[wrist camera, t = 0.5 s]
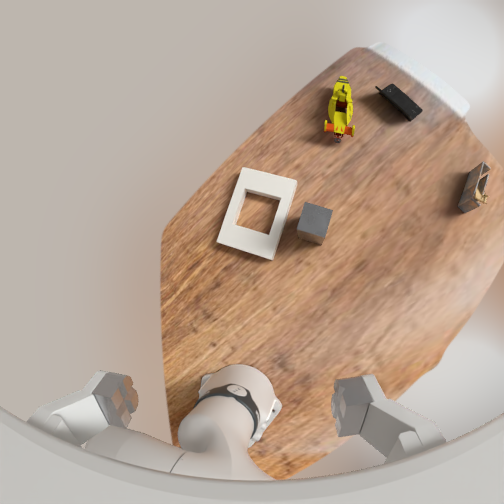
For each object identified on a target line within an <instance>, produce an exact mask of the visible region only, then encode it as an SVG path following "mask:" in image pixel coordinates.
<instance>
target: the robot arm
mask: <svg viewBox="0 0 504 504" xmlns="http://www.w3.org/2000/svg"><path fill="white" fill-rule="evenodd" d="M132 385H133V381H132V379H131V377H130V376H127V375H122V374H117V373H111V372H106V371H101V370H100V371H97V372H96V373H95V375H94V376H93V377H92V378H91V380H90V381H89V382H88V383H87V385H86V386H85V387H84V388H83V390H82V391H76V392H74V393H72V394H69V395H67V396H65V397H62V398H60V399H57V400H55V401H52V402H50V403H48V404H45V405H43V406H40V407H39V408H38V409H37V410H36V411H35V412H34V414H33V415H32V416H31V417H30V418H29V420H28V421H27V422H25V421H23V420H21V419H19V418H18V417H16V416H15V415H13V414H11V413H10V412H8V411H6V410H5V409H3V408H2V407H0V504H504V413H503V414H501V415H499V416H498V417H496V418H494V419H493V420H491V421H489V422H487V423H485V424H484V425H482V426H480V427H478V428H476V429H474V430H472V431H470V432H468V433H466V434H464V435H462V436H460V437H458V438H456V439H453V440H451V441H449V442H446V440H445V438H444V437H443V435H442V433H441V432H440V430H439V428H438V426H437V425H436V423H435V422H434V421H432V420H430V419H428V418H426V417H424V416H422V415H420V414H418V413H416V412H414V411H412V410H410V409H408V408H406V407H404V406H403V405H401V404H399V403H397V402H395V401H393V400H391V399H386V397H385V395H384V393H383V391H382V389H381V387H380V385H379V384H378V382H377V380H376V378H375V376H374V375H373V374H368V375H362V376H357V377H350V378H343V379H336V380H335V382H334V390H335V393H334V394H333V395H332V400H331V409H332V414H333V417H334V418H335V419H336V424H335V426H336V430H337V434H338V437H343V436H350V435H356V434H360V436H361V437H363V438H364V439H365V440H366V441H367V442H368V443H370V444H371V445H372V446H373V447H375V448H376V449H377V450H378V451H379V452H381V453H382V454H383V455H384V456H385V457H387V459H386V461H385V463H384V464H382V465H378V466H374V467H370V468H366V469H361V470H357V471H351V472H347V473H340V474H334V475H328V476H321V477H312V478H302V479H288V480H276V479H274V478H272V477H271V476H269V475H268V474H266V473H265V472H263V471H262V470H261V469H260V468H259V467H258V466H257V465H256V464H255V463H254V462H253V461H252V459H251V458H250V456H249V454H248V452H247V449H248V448H249V447H251V446H252V445H253V444H254V443H255V441H259V439H260V438H261V436H262V433H263V432H264V430H265V429H266V428H267V427H268V425H269V424H270V423H271V422H272V420H273V419H274V418H275V417H276V415H277V414H278V413H279V411H280V410H281V408H282V404H281V402H280V401H279V400H278V398H277V397H276V396H275V394H274V390H273V387H272V385H271V383H270V381H269V379H268V378H267V377H266V376H265V375H264V374H263V373H262V372H260V371H259V370H257V369H255V368H253V367H251V366H247V365H241V364H236V365H230V366H227V367H224V368H222V369H221V370H219V371H218V372H216V373H211V374H206V375H204V376H203V377H202V380H201V388H200V390H199V392H198V393H199V399H198V401H197V402H196V404H195V406H194V408H193V410H192V411H191V412H190V413H189V414H188V415H187V416H186V417H185V418H184V419H183V420H182V421H181V423H180V426H179V429H178V440H179V443H180V445H181V448H182V449H181V448H179V447H176V446H173V445H171V444H168V443H166V442H163V441H161V440H158V439H156V438H154V437H151V436H149V435H147V434H144V433H141V432H137V431H134V430H130V429H127V426H128V424H129V422H130V420H131V415H130V414H131V413H133V412H134V411H136V408H137V406H138V395H137V392H136V390H135V389H133V387H132ZM272 409H274V410H275V411H272ZM86 441H88V442H87V443H86V446H85V449H83V448H82V447H81V446H80V445H81V444H83V443H85V442H86Z"/></svg>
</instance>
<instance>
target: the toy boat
mask: <svg viewBox="0 0 504 504" xmlns="http://www.w3.org/2000/svg"><path fill="white" fill-rule="evenodd" d="M338 97H339V99H338ZM336 106H338V107H343V108H347V113H342V112H336V111H335V108H336ZM328 113H329V118H330V120H331V122H332V124H329V123H327V120H325V127H324V132H326V131H331V132H334V135H335V132H336V135H337V137H336V136H335V137H336V138H335V140H334V141H335V142H336V143H340V142H341V139H339V136H341V134H342V136H341V138H342V137H343V134H347V135H351V137H353V136H354V130H355V125H353V126H352V128H351V127H347V126H348V123H349V122H350V121H351V118H352V114H353V105H352V99H351V87H350V85H349V83H348V80H347V78H346V77H344V76H340V77H339V79H338V80H337V82H336V84H335V85H334V89H333V96H332V98H331V99H330V102H329V106H328ZM336 140H337V141H336ZM338 140H339V141H338Z"/></svg>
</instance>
